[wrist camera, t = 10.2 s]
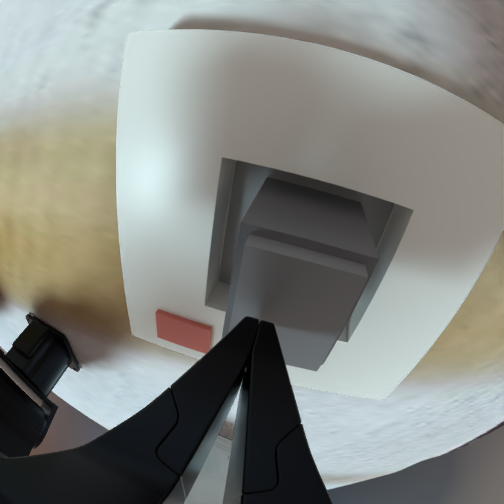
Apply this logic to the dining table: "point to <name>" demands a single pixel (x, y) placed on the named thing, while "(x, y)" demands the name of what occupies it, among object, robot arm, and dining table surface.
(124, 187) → the socket plate
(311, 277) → the plug
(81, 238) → the dining table surface
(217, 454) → the skincare box
